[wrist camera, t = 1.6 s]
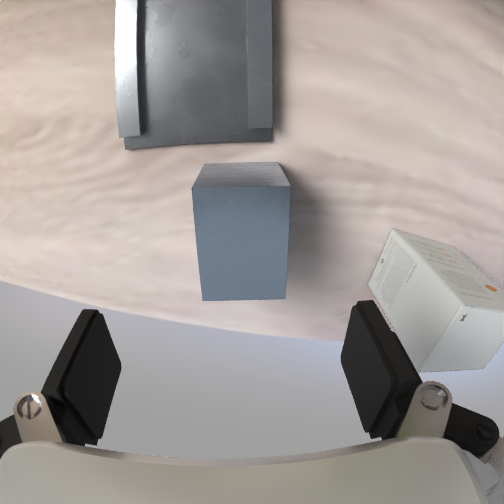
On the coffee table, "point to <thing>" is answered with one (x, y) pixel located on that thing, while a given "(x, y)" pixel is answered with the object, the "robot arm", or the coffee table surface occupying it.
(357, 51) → the coffee table surface
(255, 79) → the dock
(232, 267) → the block
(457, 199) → the coffee table surface
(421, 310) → the small box
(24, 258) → the coffee table surface
